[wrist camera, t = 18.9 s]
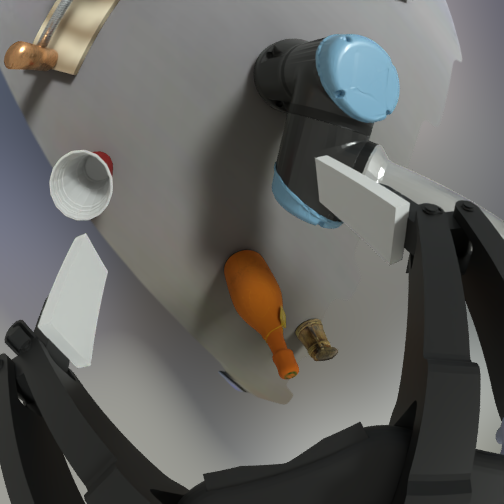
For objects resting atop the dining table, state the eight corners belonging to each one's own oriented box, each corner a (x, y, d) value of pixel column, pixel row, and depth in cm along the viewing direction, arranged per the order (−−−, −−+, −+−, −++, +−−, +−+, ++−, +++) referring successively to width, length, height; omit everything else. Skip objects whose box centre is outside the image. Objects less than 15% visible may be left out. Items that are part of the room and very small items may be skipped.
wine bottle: (257, 283, 68) (304, 388, 43) (218, 281, 64) (252, 395, 40) (269, 249, 63) (330, 353, 39) (228, 244, 59) (273, 359, 35)
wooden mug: (318, 304, 79) (347, 350, 64) (322, 330, 87) (346, 372, 72) (291, 316, 78) (316, 365, 64) (297, 341, 86) (319, 385, 72)
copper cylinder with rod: (89, -25, 19) (70, -50, 9) (107, -22, 21) (91, -49, 11) (35, 68, 26) (0, 67, 16) (52, 72, 28) (18, 70, 18)
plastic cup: (105, 124, 39) (85, 135, 29) (136, 171, 45) (127, 194, 36) (61, 161, 39) (35, 182, 30) (93, 203, 46) (76, 233, 36)
